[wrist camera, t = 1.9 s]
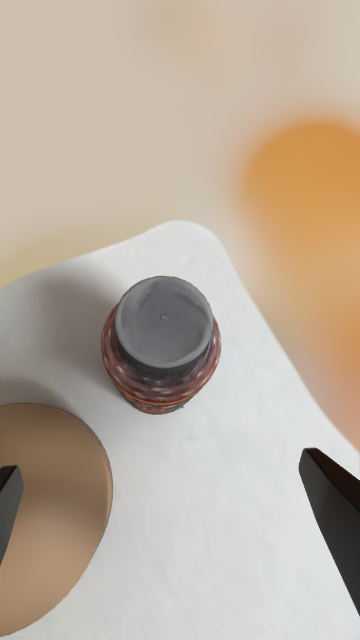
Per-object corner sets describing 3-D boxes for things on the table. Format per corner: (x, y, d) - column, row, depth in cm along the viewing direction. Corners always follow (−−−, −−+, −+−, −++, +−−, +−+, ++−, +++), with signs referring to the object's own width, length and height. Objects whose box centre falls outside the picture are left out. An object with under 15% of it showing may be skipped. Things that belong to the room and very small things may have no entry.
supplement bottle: (108, 406, 21) (62, 374, 10) (129, 329, 23) (109, 240, 13) (190, 424, 21) (226, 409, 10) (203, 345, 23) (244, 269, 13)
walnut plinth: (87, 625, 16) (77, 655, 14) (-111, 597, 16) (-155, 623, 14) (128, 420, 21) (125, 417, 18) (-28, 395, 20) (-52, 390, 18)
